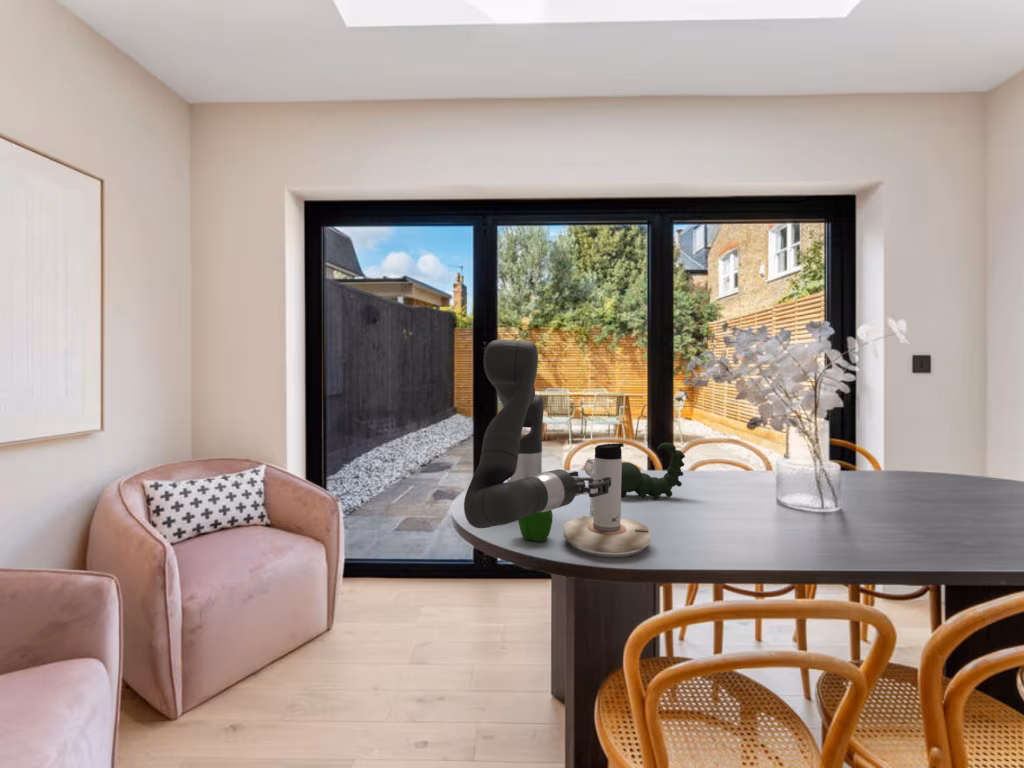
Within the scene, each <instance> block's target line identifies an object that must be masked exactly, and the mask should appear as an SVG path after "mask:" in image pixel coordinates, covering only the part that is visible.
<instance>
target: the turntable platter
mask: <svg viewBox="0 0 1024 768" xmlns="http://www.w3.org/2000/svg"><path fill="white" fill-rule="evenodd" d="M593 521H594V520H593V517H590V516H588V517H583V516H582V517H578V518H577V517H576V518H574V519H570V520H568V521H567V522H565V523H564V525H563V538H564V540H566V541H567V542H568V543H569V544H570V543H572V544H574V545H576V546H579V547H582V548H586V549H591V550H596V551H605V552H627V551H634V550H639V549H642V548H643V549H645V548H646V547H649V545H650V544H651V537H652V536H651V535H652V534H651V529H650V528H649V527H648V526H646V525H645V524H643V523H640V522H638V521H635V520H631V519H627V518H622V517H621V521H620V529H619V530H618V531H615V532H603V531H599V530H596V529H595V528H594V527H593Z"/></svg>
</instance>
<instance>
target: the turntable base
mask: <svg viewBox="0 0 1024 768" xmlns="http://www.w3.org/2000/svg"><path fill="white" fill-rule="evenodd" d="M569 544H570V546H571V547H572V548H573V549H574V550H575V549H576V550H575V551H577V552H579V553H582V554H585V555H589V556H593V557H599V558H608V559H609V558H611V559H613V558H616V559H617V558H618V559H619V558H627V557H632V556H636V555H638V554H641V553H642V552H643V551H644V548H642V549H639V550H634V551H627V552H605V551H596V550H591V549H586V548H582V547H579V546H576V545H574V544H572V543H570V542H569Z"/></svg>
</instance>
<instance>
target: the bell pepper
mask: <svg viewBox="0 0 1024 768" xmlns="http://www.w3.org/2000/svg"><path fill="white" fill-rule="evenodd" d="M553 516H554V515H553V511H552V510H550V511H546V512H539V513H536V514H532V515H529V516H525V517H523V518H521V519H519V520H517V522H518V525H519V529H520V534H521V536H522V537H523V539H524V540H528V541H529V540H531V541H533V542H544V541H546V540H547V539H548V537H549V535H550V532H551V530H552V525H553Z"/></svg>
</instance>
